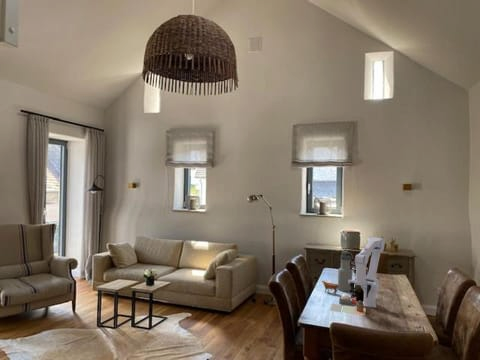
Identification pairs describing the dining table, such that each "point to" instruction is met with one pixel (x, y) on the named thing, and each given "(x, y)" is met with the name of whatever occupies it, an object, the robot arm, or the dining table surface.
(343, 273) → the water bottle
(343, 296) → the dome
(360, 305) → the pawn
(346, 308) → the game board
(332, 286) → the bull figurine
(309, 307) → the dining table surface
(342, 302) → the grey open box
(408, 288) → the dining table surface
